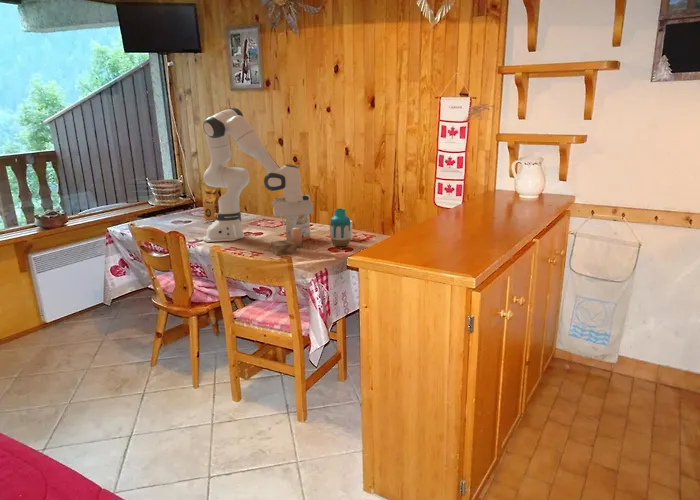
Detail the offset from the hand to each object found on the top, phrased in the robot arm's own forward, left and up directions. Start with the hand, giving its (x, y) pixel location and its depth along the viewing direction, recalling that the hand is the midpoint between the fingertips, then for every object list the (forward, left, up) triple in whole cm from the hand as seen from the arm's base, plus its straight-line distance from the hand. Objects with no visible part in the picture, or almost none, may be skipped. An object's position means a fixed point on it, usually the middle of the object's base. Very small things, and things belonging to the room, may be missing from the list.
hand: (294, 224), depth 260 cm
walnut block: (-8, -8, -12) cm, 16 cm away
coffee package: (-32, +88, -12) cm, 95 cm away
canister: (+1, +1, -12) cm, 12 cm away
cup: (+28, +5, -12) cm, 31 cm away
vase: (+22, -8, -12) cm, 27 cm away
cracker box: (+5, +13, -12) cm, 19 cm away
